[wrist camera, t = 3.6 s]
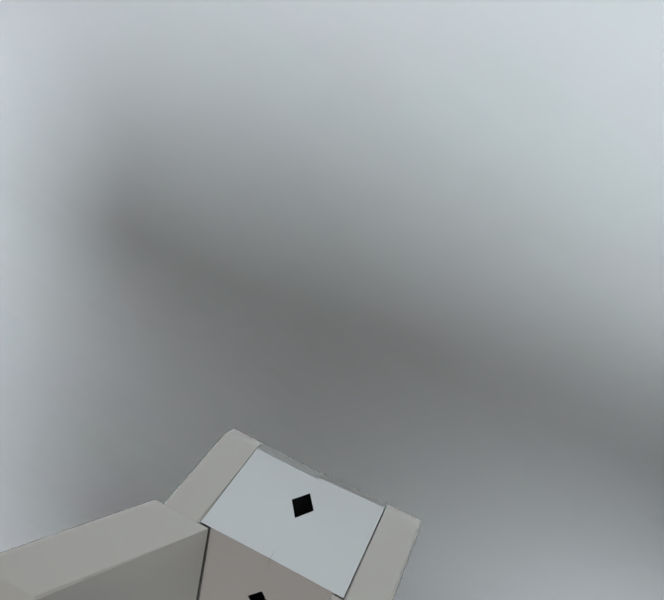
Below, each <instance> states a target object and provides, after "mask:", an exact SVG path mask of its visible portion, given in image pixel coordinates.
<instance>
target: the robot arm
mask: <svg viewBox="0 0 664 600" xmlns="http://www.w3.org/2000/svg"><path fill="white" fill-rule="evenodd" d="M386 505H387V503H385V502H383V501H381V500H379V499H377V498H374V497H372V496H370V495H368V494H366V493H364V492H362V491H360V490H358V489H355V488H353V487H351V486H349V485H347V484H345V483H343V482H341V481H339V480H336V479H334V478H332V477H330V476H328V475H326V474H322V473H320V472H318V471H316V470H314V469H312V468H310V467H308V466H306V465H304V464H302V463H301V462H299V461H297V460H295V459H293V458H291V457H289V456H287V455H285V454H283V453H281V452H279V451H277V450H276V449H274V448H272V447H270V446H268V445H266V444H264V443H261V442H259V441H257V440H255V439H253V438H252V437H250V436H248V435H246V434H244V433H242V432H240V431H238V430H236V429H232V430H230V431H229V432H227V433H225V434H224V435H223V436H222V437H221V439H220V440H219V441H218V442H217V443H216V444H215V445H214V447H213V448H212V449H211V450H210V451H209V452H208V453H207V455H206V456H205V457H204V458H203V459H202V460H201V462H200V463H199V464H198V465H197V466H196V467H195V468H194V470H193V471H192V472H191V473H190V474H189V475H188V477H187V478H186V479H185V480H184V481H183V482H182V483H181V485H180V486H179V487H178V488H177V489H176V490H175V491H174V493H173V494H172V495H171V496H170V497H169V498H168V500H167V501H166V502H165V503H164V504H163V503H161V502H159V501H157V500H152V501H149V502H146V503H143V504H140V505H137V506H134V507H131V508H128V509H126V510H123V511H120V512H117V513H114V514H111V515H108V516H105V517H102V518H99V519H97V520H94V521H91V522H88V523H85V524H82V525H79V526H76V527H73V528H70V529H68V530H65V531H62V532H59V533H56V534H53V535H50V536H47V537H44V538H41V539H39V540H36V541H33V542H30V543H27V544H24V545H21V546H18V547H15V548H12V549H10V550H7V551H4V552H1V553H0V600H393V599H394V596H395V594H396V591H397V588H398V586H399V583H400V580H401V578H402V575H403V572H404V570H405V567H406V564H407V562H408V559H409V556H410V553H411V551H412V548H413V545H414V543H415V540H416V537H417V535H418V532H419V529H420V526H421V520H419V519H417V518H415V517H413V516H411V515H409V514H407V513H405V512H403V511H401V510H399V509H396V508H394V507H392V506H390V505H387V507H386ZM385 508H386V509H385Z"/></svg>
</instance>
